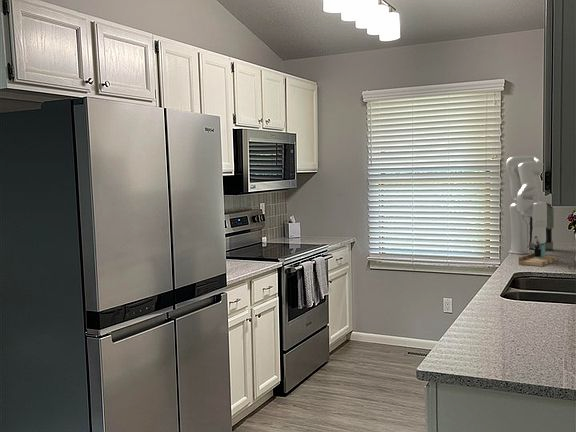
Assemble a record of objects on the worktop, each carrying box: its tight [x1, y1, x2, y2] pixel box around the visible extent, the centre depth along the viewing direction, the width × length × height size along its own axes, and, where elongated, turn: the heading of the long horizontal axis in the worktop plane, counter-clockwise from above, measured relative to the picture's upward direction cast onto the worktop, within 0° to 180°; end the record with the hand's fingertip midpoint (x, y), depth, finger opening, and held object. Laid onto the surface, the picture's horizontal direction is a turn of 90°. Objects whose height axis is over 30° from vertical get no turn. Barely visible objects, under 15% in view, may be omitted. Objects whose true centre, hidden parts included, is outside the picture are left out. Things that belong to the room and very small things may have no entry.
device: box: [528, 202, 555, 251], centre depth 357 cm, size 14×8×30 cm, turn 59°
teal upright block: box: [533, 244, 546, 258], centre depth 317 cm, size 5×4×7 cm
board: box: [518, 251, 558, 267], centre depth 311 cm, size 24×12×4 cm, turn 136°
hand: (539, 255), depth 317 cm, fingers closed on teal upright block, 5 cm apart
